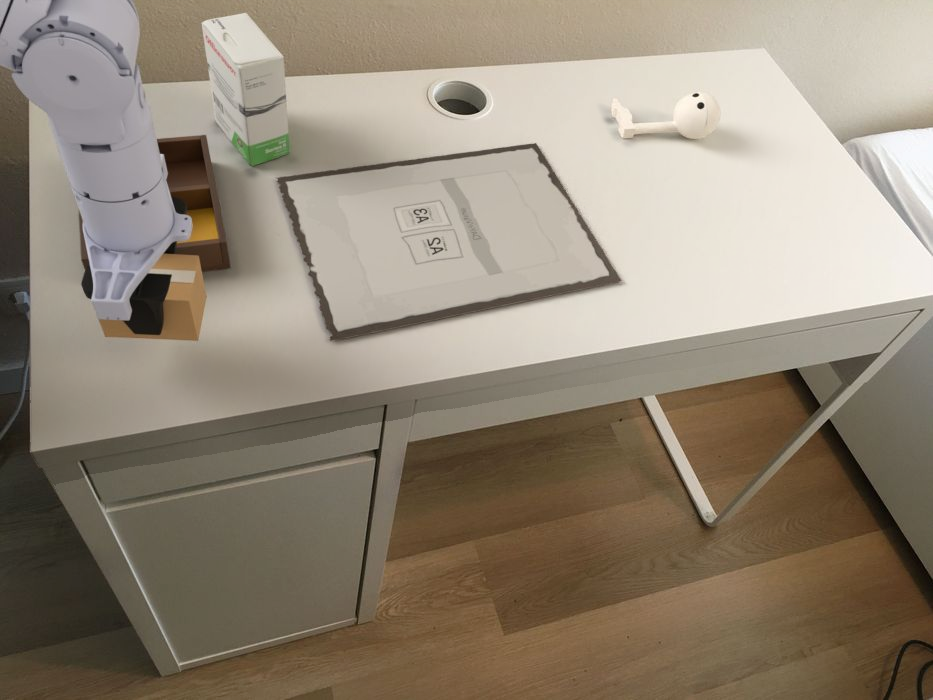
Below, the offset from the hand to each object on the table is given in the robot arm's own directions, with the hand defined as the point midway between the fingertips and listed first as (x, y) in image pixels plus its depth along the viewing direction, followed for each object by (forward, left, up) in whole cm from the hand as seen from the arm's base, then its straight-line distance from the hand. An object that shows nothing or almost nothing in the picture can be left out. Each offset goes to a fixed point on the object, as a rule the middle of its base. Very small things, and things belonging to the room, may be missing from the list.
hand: (154, 305), depth 60 cm
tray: (-4, +15, -6) cm, 17 cm away
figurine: (+52, +37, -6) cm, 64 cm away
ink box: (+4, +29, -6) cm, 29 cm away
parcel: (0, 0, -1) cm, 1 cm away
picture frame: (+25, +16, -6) cm, 30 cm away
